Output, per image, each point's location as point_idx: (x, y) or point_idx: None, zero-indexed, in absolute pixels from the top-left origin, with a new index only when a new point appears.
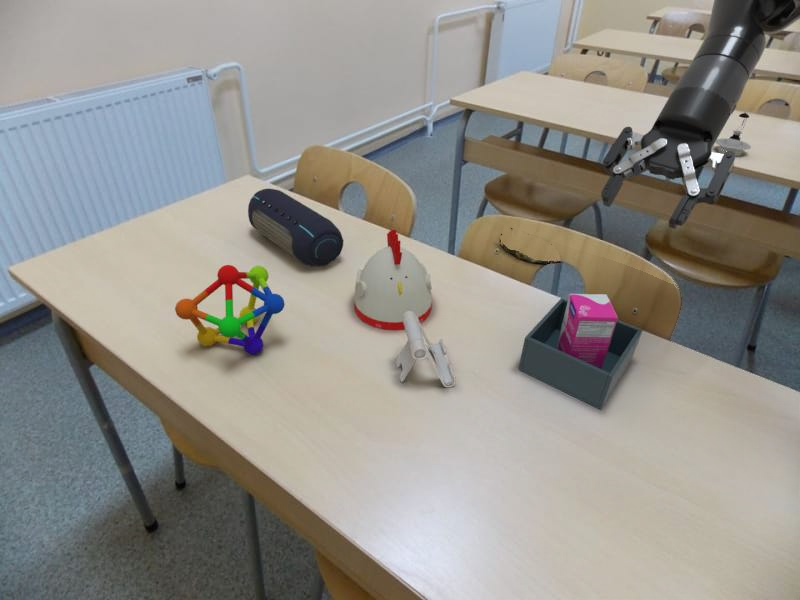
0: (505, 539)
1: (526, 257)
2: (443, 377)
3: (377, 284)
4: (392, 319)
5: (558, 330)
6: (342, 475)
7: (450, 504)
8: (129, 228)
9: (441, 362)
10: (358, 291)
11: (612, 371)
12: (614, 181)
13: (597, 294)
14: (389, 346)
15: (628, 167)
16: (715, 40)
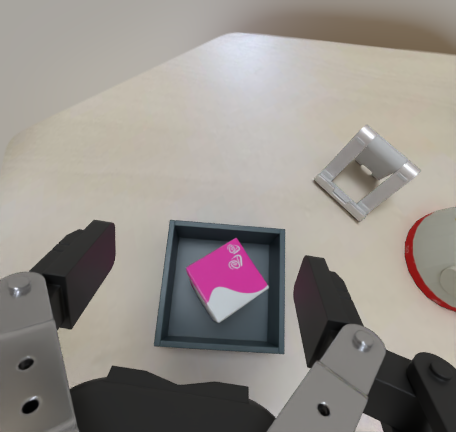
0: (202, 78)
1: None
2: (327, 175)
3: None
4: (430, 215)
5: (263, 340)
6: (323, 65)
7: (247, 81)
8: None
9: (342, 194)
10: None
11: (172, 229)
12: (333, 300)
13: (231, 312)
14: (400, 195)
15: (329, 353)
16: None
